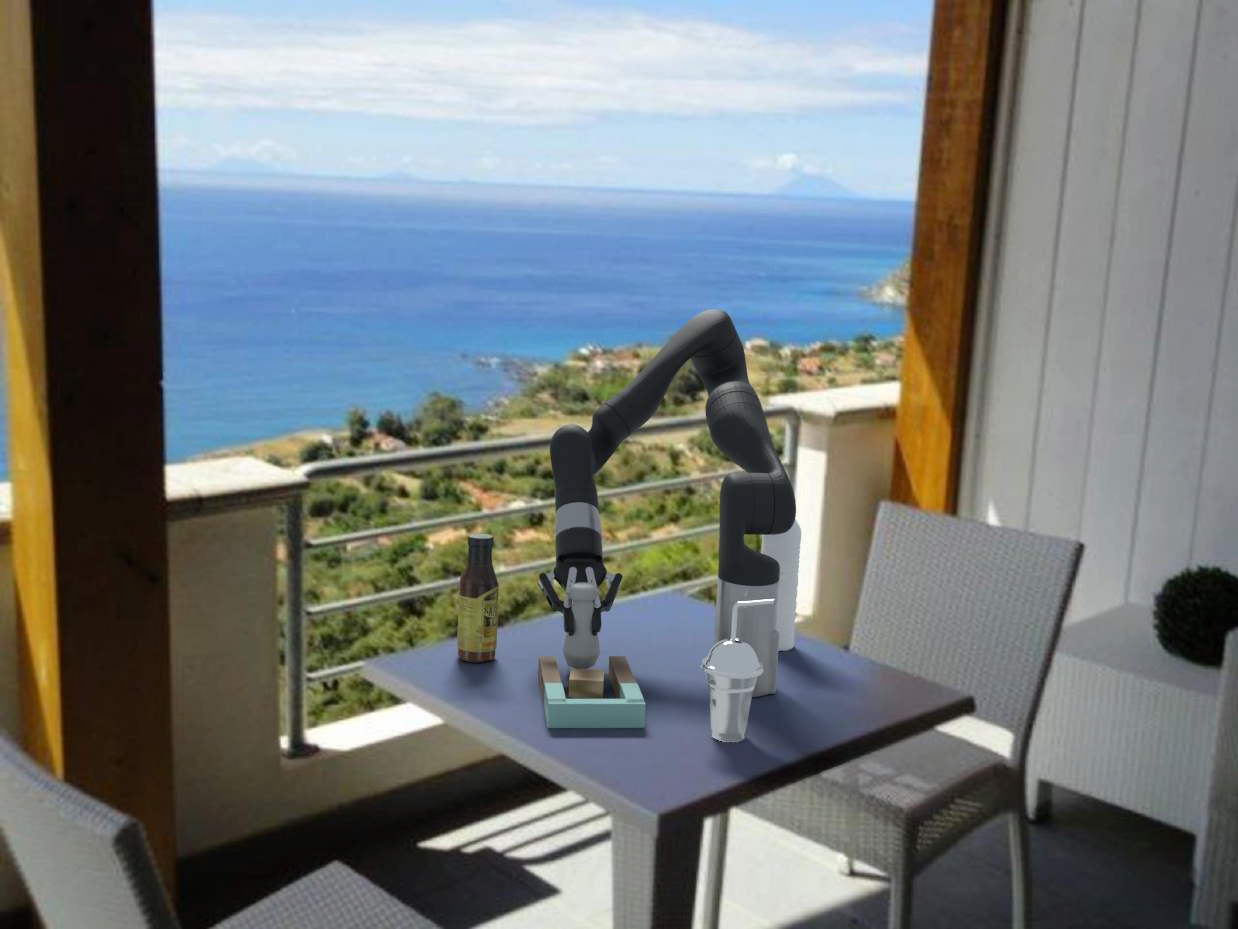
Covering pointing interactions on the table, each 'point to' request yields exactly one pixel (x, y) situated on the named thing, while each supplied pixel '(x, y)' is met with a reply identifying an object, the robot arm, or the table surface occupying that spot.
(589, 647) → the salt shaker
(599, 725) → the teal u-shaped block
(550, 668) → the slot
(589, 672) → the block
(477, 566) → the sauce bottle
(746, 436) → the robot arm
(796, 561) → the water bottle
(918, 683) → the table surface
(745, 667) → the cup with straw
